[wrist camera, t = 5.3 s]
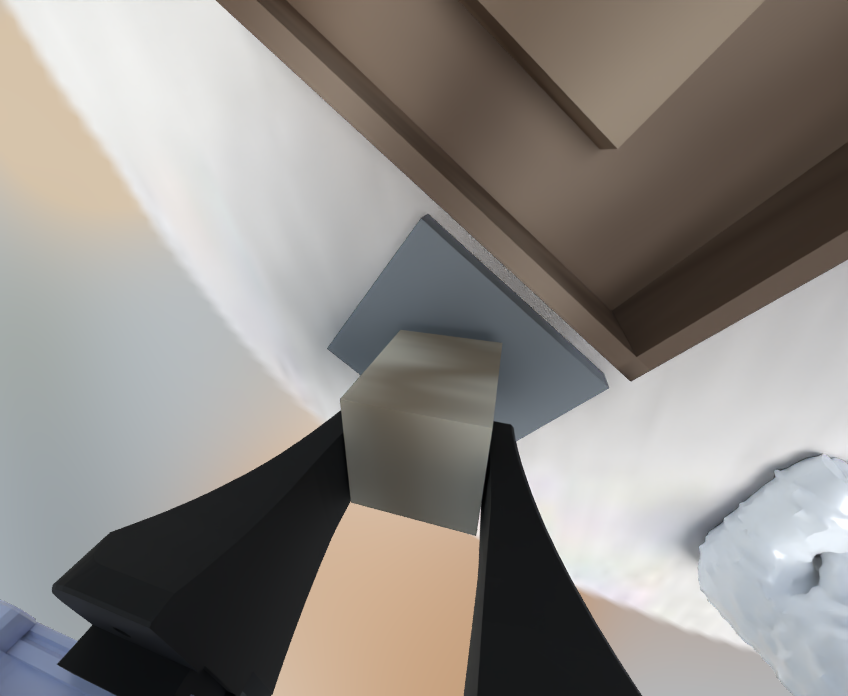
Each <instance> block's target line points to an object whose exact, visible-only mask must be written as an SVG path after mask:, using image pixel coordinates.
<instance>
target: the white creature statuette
mask: <svg viewBox="0 0 848 696" xmlns="http://www.w3.org/2000/svg"><path fill="white" fill-rule="evenodd" d="M774 473H775V476H776V477H775V478H774V479H773V480H771V481H770V482H768V483H766V484H765V485H764V486H763V487H762V488H760V489H759V490H758V491H757V492H755V493H754V494H753V495H752V496H751V497H749V498H748V499H747V500H746V501H745V502H741V503H740V504H739V507H738V508H737V509H736V510H735V511H733V512H732V513H730V514H729V515H728V516H726V517H725V518H724V522H723V523H721V524H720V525H718V526H717V527H715V528H714V529H712V530H711V531H709V532H708V535H707V536H706V537H705V542H704V543H703V544H702V545H700V546H699V550H700V561H698V562H699V566H698V580H699V582H700V590H701V591H702V592H703V593H704V594H705V595H706V597H707V600H708V602H710V603H711V604H712V605H713V606H714V607H715V608H716V609H717V610H718V611H719V613H720V614H721V616H722V617H723V618H724V619H725V620H726V621H727V622H728V623H729V624H730V625H731V627H732V628H733V629H734V630H735V632H736V633H737V634H738V635H739V636H740V637H741V638H742V640H743V641H744V642H745V643H747V644H749V645H750V646H752V647H753V648H754V650H755V651H756V652H757V653H759V654H760V655H761V657H762V659H763V660H764V661H765V662H766V663H768V664H769V665H770V667H771V668H772V669H773V671H774V672H775V674H776V677H777V678H778V679H779V680H780V682H781V683H782V685H783V686H784V687H785V688H786V689H787V690H788V691H790V693H792V695H793V696H848V464H847V463H846V462H845V461H843V460H842V459H838V458H832V459H830V458H829V456H828V455H825V454H822V455H819V456H816V457H810V458H806V459H803V460H802V461H800V462H798V463H796V464H794V465H792V466H790V467H788V468H786V469H783V470H781V471H780V470H777V469H776V470H775V471H774Z"/></svg>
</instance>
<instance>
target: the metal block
mask: <svg viewBox="0 0 848 696" xmlns="http://www.w3.org/2000/svg"><path fill="white" fill-rule="evenodd" d="M501 350H502V343H498V342H491V341H483V340H476V339H468V338H460V337H453V336H445V335H437V334H430V333H422V332H414V331H407V330H400V331H399V332H398V333H397V335H396V336H395V337H394V338H393V339H392V340H391V341H390V343H389V344H388V345H387V346H386V347H385V348H384V349H383V351H382V352H381V353H380V354H379V355H378V356H377V357H376V359H375V360H374V361H373V362H372V363H371V364H370V365H369V367H368V368H367V369H366V370H365V371H364V372H363V374H362V375H361V376H360V377H359V378H358V379H357V380H356V382H355V383H354V384H353V385H352V386H351V387H350V388H349V390H348V391H347V392H346V393H345V394H344V395H343V396H342V398H341V399H340V404H341V413H342V423H343V432H344V441H345V450H346V460H347V469H348V478H349V487H350V497H351V502H352V503H355V504H359V505H363V506H367V507H370V508H374V509H378V510H381V511H385V512H389V513H392V514H396V515H400V516H404V517H407V518H411V519H415V520H419V521H423V522H426V523H430V524H434V525H437V526H441V527H445V528H449V529H453V530H456V531H460V532H464V533H467V534H471V535H475V536H476V533H477V527H478V520H479V513H480V507H481V500H482V494H483V487H484V481H485V474H486V468H487V461H488V454H489V448H490V441H491V435H492V428H493V419H494V411H495V402H496V394H497V385H498V376H499V368H500V359H501Z"/></svg>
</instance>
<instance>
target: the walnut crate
mask: <svg viewBox="0 0 848 696" xmlns="http://www.w3.org/2000/svg"><path fill="white" fill-rule="evenodd" d="M216 1H217V2H218V3H219V4H220V5H221V6H222V7H224V8H225V9H226V10H227V11H228V12H229V13H230V14H231V15H232V16H233V17H234V18H236V19H237V20H238V21H239V22H240V23H241V24H242V25H243V26H244V27H245V28H246V29H247V30H249V31H250V32H251V33H252V34H253V35H254V36H255V37H256V38H257V39H258V40H259V41H261V42H262V43H263V44H264V45H265V46H266V47H267V48H268V49H269V50H270V51H271V52H273V53H274V54H275V55H276V56H277V57H278V58H279V59H280V60H281V61H282V62H283V63H284V64H286V65H287V66H288V67H289V68H290V69H291V70H292V71H293V72H294V73H295V74H296V75H298V76H299V77H300V78H301V79H302V80H303V81H304V82H305V83H306V84H307V85H308V86H310V87H311V88H312V89H313V90H314V91H315V92H316V93H317V94H318V95H319V96H320V97H321V98H323V99H324V100H325V101H326V102H327V103H328V104H329V105H330V106H331V107H332V108H333V109H335V110H336V111H337V112H338V113H339V114H340V115H341V116H342V117H343V118H344V119H345V120H347V121H348V122H349V123H350V124H351V125H352V126H353V127H354V128H355V129H356V130H357V131H358V132H360V133H361V134H362V135H363V136H364V137H365V138H366V139H367V140H368V141H369V142H370V143H372V144H373V145H374V146H375V147H376V148H377V149H378V150H379V151H380V152H381V153H382V154H384V155H385V156H386V157H387V158H388V159H389V160H390V161H391V162H392V163H393V164H394V165H395V166H397V167H398V168H399V169H400V170H401V171H402V172H403V173H404V174H405V175H406V176H407V177H409V178H410V179H411V180H412V181H413V182H414V183H415V184H416V185H417V186H418V187H419V188H421V189H422V190H423V191H424V192H425V193H426V194H427V195H428V196H429V197H430V198H431V199H432V200H434V201H435V202H436V203H437V204H438V205H439V206H440V207H441V208H442V209H443V210H444V211H446V212H447V213H448V214H449V215H450V216H451V217H452V218H453V219H454V220H455V221H456V222H458V223H459V224H460V225H461V226H462V227H463V228H464V229H465V230H466V231H467V232H468V233H469V234H471V235H472V236H473V237H474V238H475V239H476V240H477V241H478V242H479V243H480V244H481V245H483V246H484V247H485V248H486V249H487V250H488V251H489V252H490V253H491V254H492V255H493V256H495V257H496V258H497V259H498V260H499V261H500V262H501V263H502V264H503V265H504V266H505V267H506V268H508V269H509V270H510V271H511V272H512V273H513V274H514V275H515V276H516V277H517V278H518V279H520V280H521V281H522V282H523V283H524V284H525V285H526V286H527V287H528V288H529V289H530V290H532V291H533V292H534V293H535V294H536V295H537V296H538V297H539V298H540V299H541V300H542V301H543V302H545V303H546V304H547V305H548V306H549V307H550V308H551V309H552V310H553V311H554V312H555V313H557V314H558V315H559V316H560V317H561V318H562V319H563V320H564V321H565V322H566V323H567V324H569V325H570V326H571V327H572V328H573V329H574V330H575V331H576V332H577V333H578V334H579V335H580V336H582V337H583V338H584V339H585V340H586V341H587V342H588V343H589V344H590V345H591V346H592V347H594V348H595V349H596V350H597V351H598V352H599V353H600V354H601V355H602V356H603V357H604V358H606V359H607V360H608V361H609V362H610V363H611V364H612V365H613V366H614V367H615V368H616V369H617V370H619V371H620V372H621V373H622V374H623V375H624V376H625V377H626V378H627V379H628V380H629V381H633V380H635V379H636V378H638V377H640V376H642V375H643V374H645V373H647V372H649V371H650V370H652V369H654V368H656V367H658V366H659V365H661V364H663V363H665V362H666V361H668V360H670V359H672V358H674V357H675V356H677V355H679V354H681V353H682V352H684V351H686V350H688V349H690V348H691V347H693V346H695V345H697V344H698V343H700V342H702V341H704V340H706V339H707V338H709V337H711V336H713V335H714V334H716V333H718V332H720V331H722V330H723V329H725V328H727V327H729V326H730V325H732V324H734V323H736V322H738V321H739V320H741V319H743V318H745V317H746V316H748V315H750V314H752V313H754V312H755V311H757V310H759V309H761V308H762V307H764V306H766V305H768V304H770V303H771V302H773V301H775V300H777V299H778V298H780V297H782V296H784V295H786V294H787V293H789V292H791V291H793V290H794V289H796V288H798V287H800V286H802V285H803V284H805V283H807V282H809V281H810V280H812V279H814V278H816V277H818V276H819V275H821V274H823V273H825V272H826V271H828V270H830V269H832V268H834V267H835V266H837V265H839V264H841V263H842V262H844V261H846V260H848V0H216Z"/></svg>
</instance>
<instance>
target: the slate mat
mask: <svg viewBox="0 0 848 696" xmlns="http://www.w3.org/2000/svg"><path fill="white" fill-rule="evenodd" d="M400 330H407V331H414V332H422V333H430V334H437V335H445V336H453V337H460V338H468V339H476V340H483V341H491V342H498V343H502V350H501V359H500V368H499V376H498V385H497V394H496V402H495V411H494V419H493V421H496V422H501V423H506V424H511V425H512V426H513V427H514V433H515V439H516V441H518V440H519V439H521V438H523V437H525V436H526V435H528V434H530V433H532V432H533V431H535V430H537V429H539V428H540V427H542V426H544V425H545V424H547V423H549V422H551V421H552V420H554V419H556V418H558V417H559V416H561V415H563V414H565V413H566V412H568V411H570V410H572V409H573V408H575V407H577V406H579V405H580V404H582V403H584V402H586V401H587V400H589V399H591V398H593V397H594V396H596V395H598V394H600V393H601V392H603V391H605V390H607V389H608V388H609V386H608V384H607V381H606V378H605V375H604V373H602V372H601V371H600V370H599V369H598V368H597V367H596V366H595V365H594V364H593V363H591V362H590V361H589V360H588V359H587V358H586V357H585V356H584V355H583V354H582V353H580V352H579V351H578V350H577V349H576V348H575V347H574V346H573V345H572V344H571V343H569V342H568V341H567V340H566V339H565V338H564V337H563V336H562V335H561V334H560V333H558V332H557V331H556V330H555V329H554V328H553V327H552V326H551V325H550V324H549V323H547V322H546V321H545V320H544V319H543V318H542V317H541V316H540V315H539V314H538V313H536V312H535V311H534V310H533V309H532V308H531V307H530V306H529V305H528V304H526V303H525V302H524V301H523V300H522V299H521V298H520V297H519V296H518V295H517V294H515V293H514V292H513V291H512V290H511V289H510V288H509V287H508V286H507V285H506V284H504V283H503V282H502V281H501V280H500V279H499V278H498V277H497V276H496V275H495V274H493V273H492V272H491V271H490V270H489V269H488V268H487V267H486V266H485V265H484V264H482V263H481V262H480V261H479V260H478V259H477V258H476V257H475V256H474V255H473V254H471V253H470V252H469V251H468V250H467V249H466V248H465V247H464V246H463V245H462V244H460V243H459V242H458V241H457V240H456V239H455V238H454V237H453V236H452V235H451V234H449V233H448V232H447V231H446V230H445V229H444V228H443V227H442V226H441V225H439V224H438V223H437V222H436V221H435V220H434V219H433V218H432V217H431V216H430V215H428V214H427V215H426V216H424V217H422V218H421V219H420V220H419V222H418V223H417V225H416V226H415V227H414V229H413V230H412V232H411V233H410V234H409V236H408V237H407V238H406V240H405V241H404V243H403V244H402V245H401V247H400V248H399V250H398V251H397V252H396V254H395V255H394V256H393V258H392V259H391V261H390V262H389V263H388V265H387V266H386V268H385V269H384V270H383V272H382V273H381V274H380V276H379V277H378V279H377V280H376V281H375V283H374V284H373V286H372V287H371V288H370V290H369V291H368V293H367V294H366V295H365V297H364V298H363V299H362V301H361V302H360V304H359V305H358V306H357V308H356V309H355V311H354V312H353V313H352V315H351V316H350V317H349V319H348V320H347V322H346V323H345V324H344V326H343V327H342V329H341V330H340V331H339V333H338V334H337V335H336V337H335V338H334V340H333V341H332V342H331V344H330V345H329V347H328V348H327V349H328V350H329V351H331V352H332V353H333V354H334V355H336V356H337V357H338V358H340V359H341V360H342V361H343V362H345V363H346V364H347V365H348V366H350V367H351V368H352V369H354V370H355V371H356V372H357V373H359V374H360V375H362V374H363V372H364V371H365V370H366V369H367V368H368V367H369V365H370V364H371V363H372V362H373V361H374V360H375V359H376V357H377V356H378V355H379V354H380V353H381V352H382V351H383V349H384V348H385V347H386V346H387V345H388V344H389V343H390V341H391V340H392V339H393V338H394V337H395V336H396V335H397V333H398V332H399V331H400Z"/></svg>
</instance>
